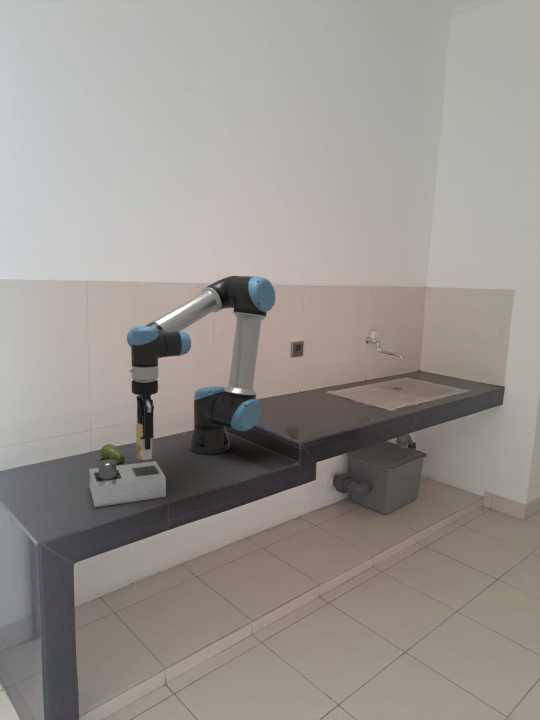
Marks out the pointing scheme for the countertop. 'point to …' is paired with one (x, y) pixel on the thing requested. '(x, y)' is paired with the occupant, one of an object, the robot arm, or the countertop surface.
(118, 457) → the pear
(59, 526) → the countertop surface
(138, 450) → the yellow piece
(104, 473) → the block
